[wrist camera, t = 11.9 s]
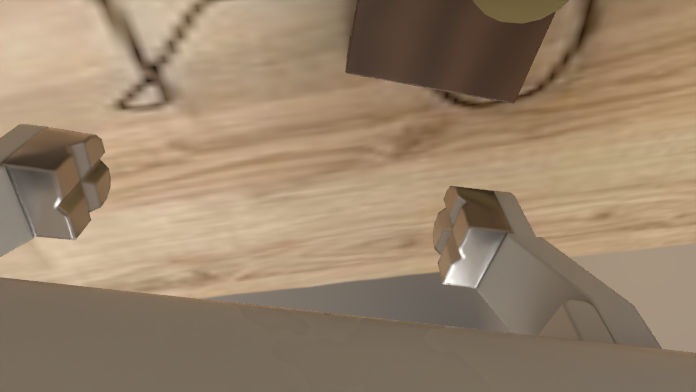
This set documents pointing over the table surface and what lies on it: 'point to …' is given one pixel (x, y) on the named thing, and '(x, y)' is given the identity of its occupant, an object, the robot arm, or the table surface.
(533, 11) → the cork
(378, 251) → the table surface
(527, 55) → the desk riser
